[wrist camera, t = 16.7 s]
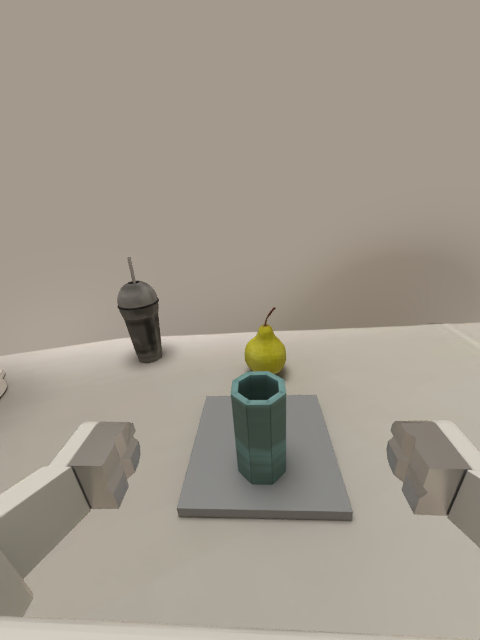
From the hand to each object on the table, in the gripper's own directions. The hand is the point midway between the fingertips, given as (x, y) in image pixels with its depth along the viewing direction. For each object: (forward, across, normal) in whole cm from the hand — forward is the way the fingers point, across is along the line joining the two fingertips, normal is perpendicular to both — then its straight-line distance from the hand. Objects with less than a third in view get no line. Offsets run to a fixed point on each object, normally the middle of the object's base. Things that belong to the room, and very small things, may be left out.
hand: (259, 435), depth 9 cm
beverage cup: (+39, -22, -21) cm, 50 cm away
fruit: (+33, +1, -21) cm, 39 cm away
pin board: (+17, 0, -20) cm, 27 cm away
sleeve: (+14, 0, -19) cm, 24 cm away
